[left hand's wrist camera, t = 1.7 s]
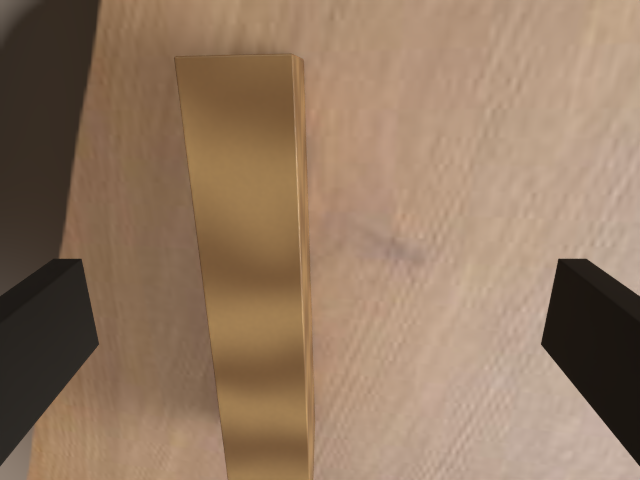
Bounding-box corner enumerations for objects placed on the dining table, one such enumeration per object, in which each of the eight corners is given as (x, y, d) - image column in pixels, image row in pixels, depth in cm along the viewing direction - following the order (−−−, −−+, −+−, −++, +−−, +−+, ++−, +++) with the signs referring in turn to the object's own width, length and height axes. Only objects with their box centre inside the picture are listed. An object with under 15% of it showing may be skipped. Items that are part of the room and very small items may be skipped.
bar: (223, 60, 25) (173, 56, 17) (303, 58, 25) (292, 53, 17) (256, 423, 34) (234, 534, 26) (314, 422, 34) (311, 534, 26)
